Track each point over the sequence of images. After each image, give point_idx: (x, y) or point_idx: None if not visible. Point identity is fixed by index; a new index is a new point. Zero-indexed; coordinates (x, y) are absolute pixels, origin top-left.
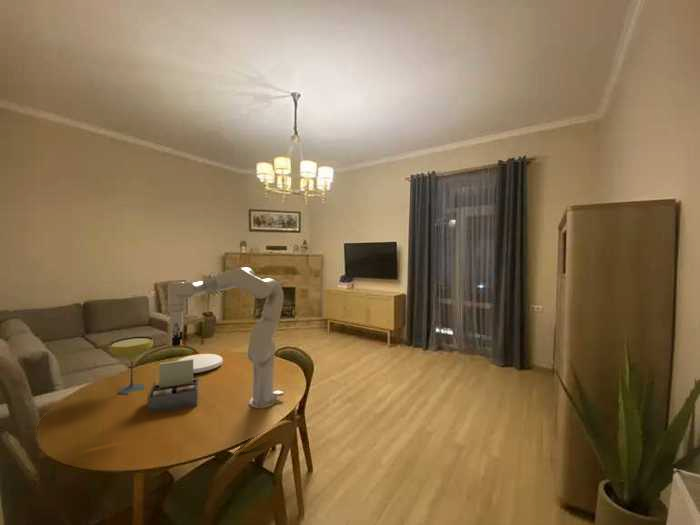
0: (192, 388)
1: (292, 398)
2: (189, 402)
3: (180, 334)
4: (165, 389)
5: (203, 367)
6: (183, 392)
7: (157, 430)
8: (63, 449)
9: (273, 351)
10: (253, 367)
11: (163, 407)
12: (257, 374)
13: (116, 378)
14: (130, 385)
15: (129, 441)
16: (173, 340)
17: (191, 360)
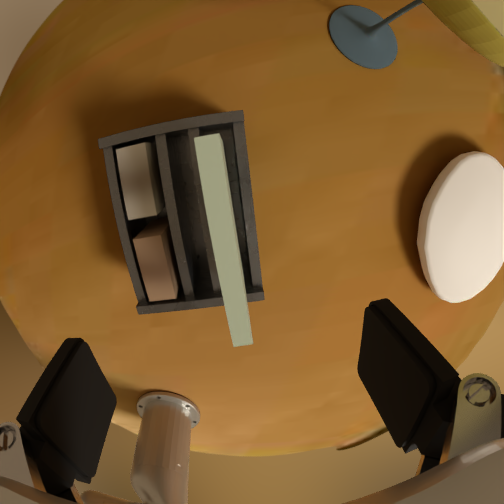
0: (148, 295)
1: None
2: None
3: (390, 414)
4: (148, 189)
5: (427, 261)
6: (131, 264)
7: (57, 201)
8: (49, 28)
9: None
10: (145, 475)
11: None
12: (133, 465)
13: None
14: (368, 27)
15: (30, 153)
16: (44, 399)
17: (232, 337)
